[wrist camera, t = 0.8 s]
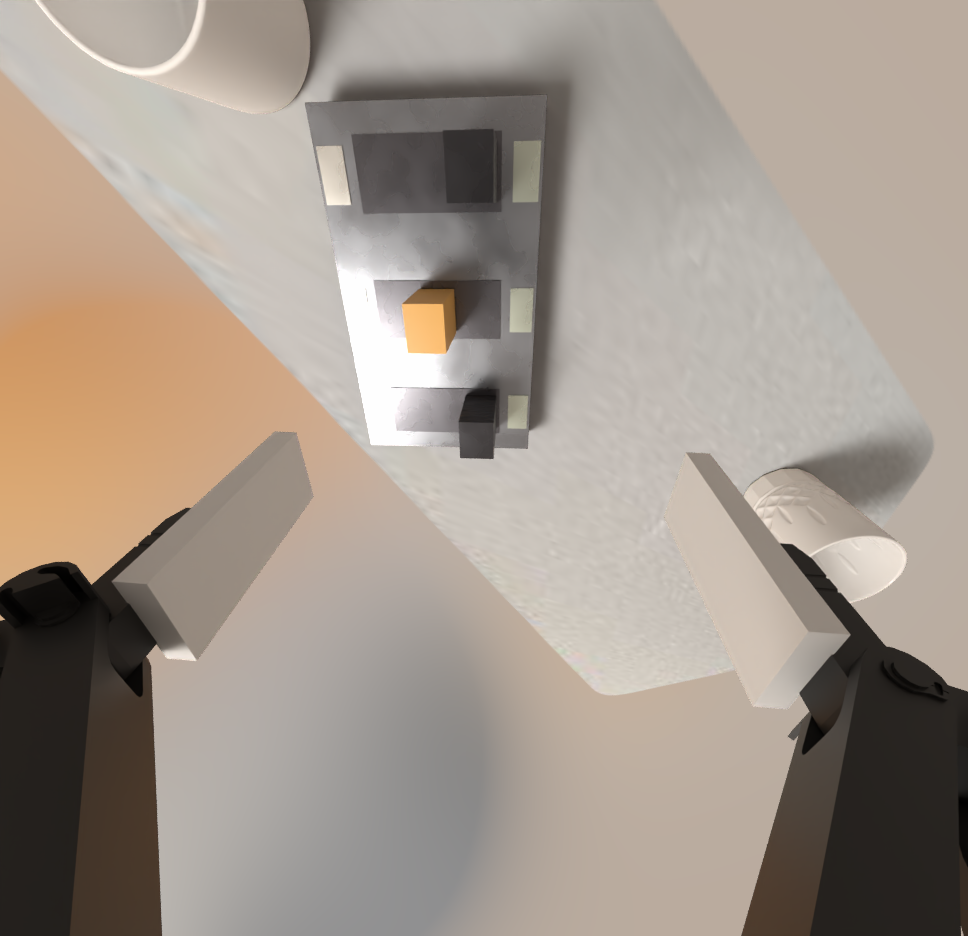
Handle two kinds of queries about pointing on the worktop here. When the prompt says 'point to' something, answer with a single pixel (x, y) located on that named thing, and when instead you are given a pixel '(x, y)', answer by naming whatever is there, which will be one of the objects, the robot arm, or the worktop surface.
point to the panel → (437, 258)
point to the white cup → (828, 532)
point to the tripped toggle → (429, 321)
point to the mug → (197, 45)
